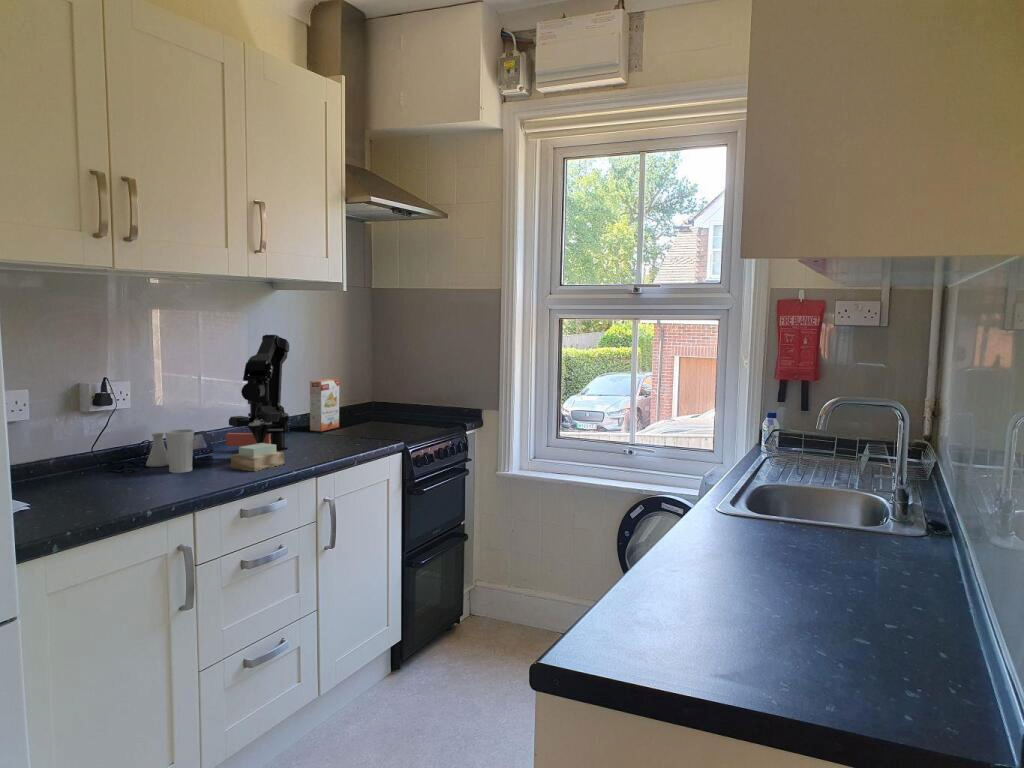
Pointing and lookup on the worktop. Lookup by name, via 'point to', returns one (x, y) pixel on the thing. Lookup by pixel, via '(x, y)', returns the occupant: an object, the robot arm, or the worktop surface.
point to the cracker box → (324, 405)
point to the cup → (180, 450)
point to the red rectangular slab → (244, 439)
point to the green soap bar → (257, 449)
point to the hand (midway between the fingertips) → (260, 445)
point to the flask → (158, 452)
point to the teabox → (257, 461)
